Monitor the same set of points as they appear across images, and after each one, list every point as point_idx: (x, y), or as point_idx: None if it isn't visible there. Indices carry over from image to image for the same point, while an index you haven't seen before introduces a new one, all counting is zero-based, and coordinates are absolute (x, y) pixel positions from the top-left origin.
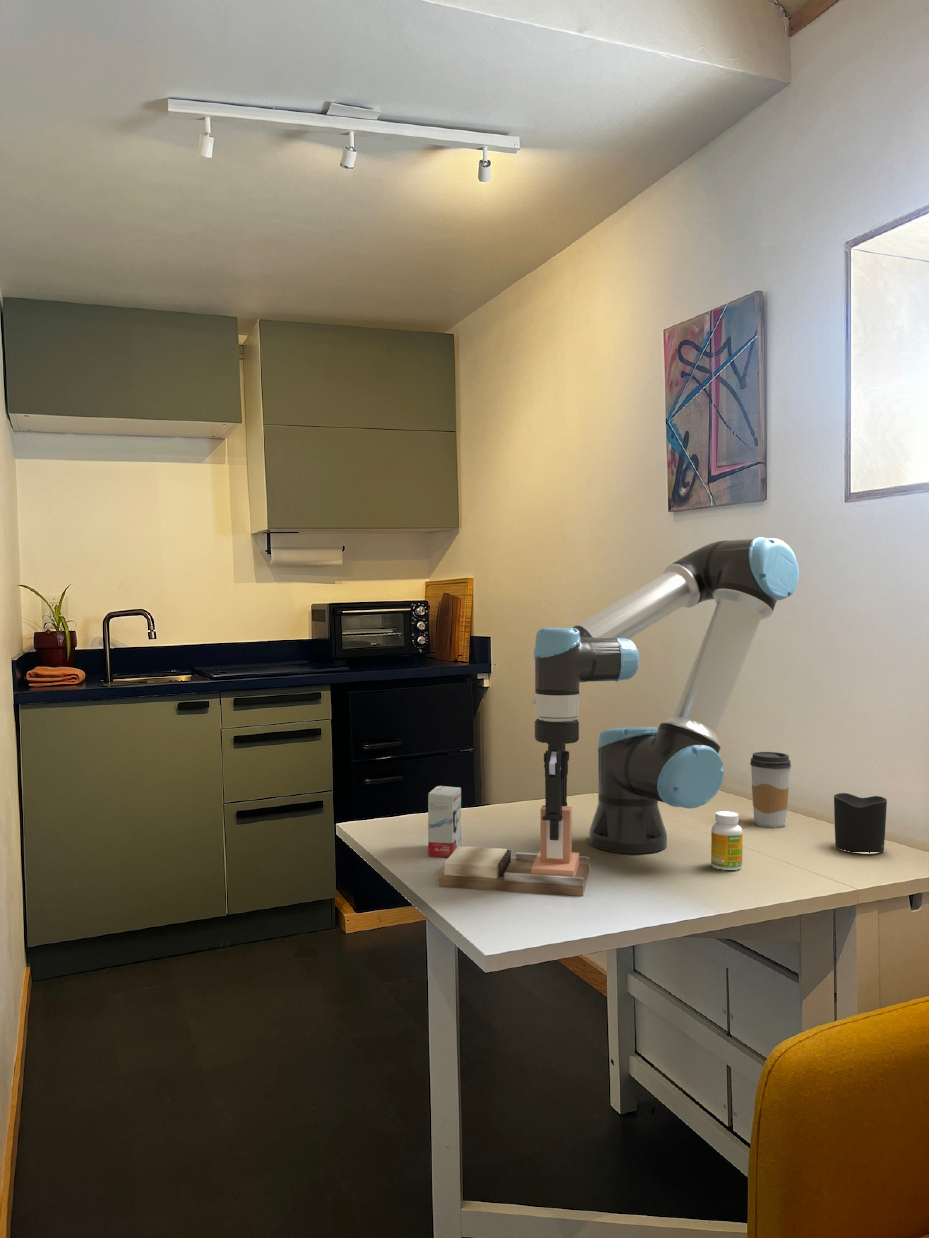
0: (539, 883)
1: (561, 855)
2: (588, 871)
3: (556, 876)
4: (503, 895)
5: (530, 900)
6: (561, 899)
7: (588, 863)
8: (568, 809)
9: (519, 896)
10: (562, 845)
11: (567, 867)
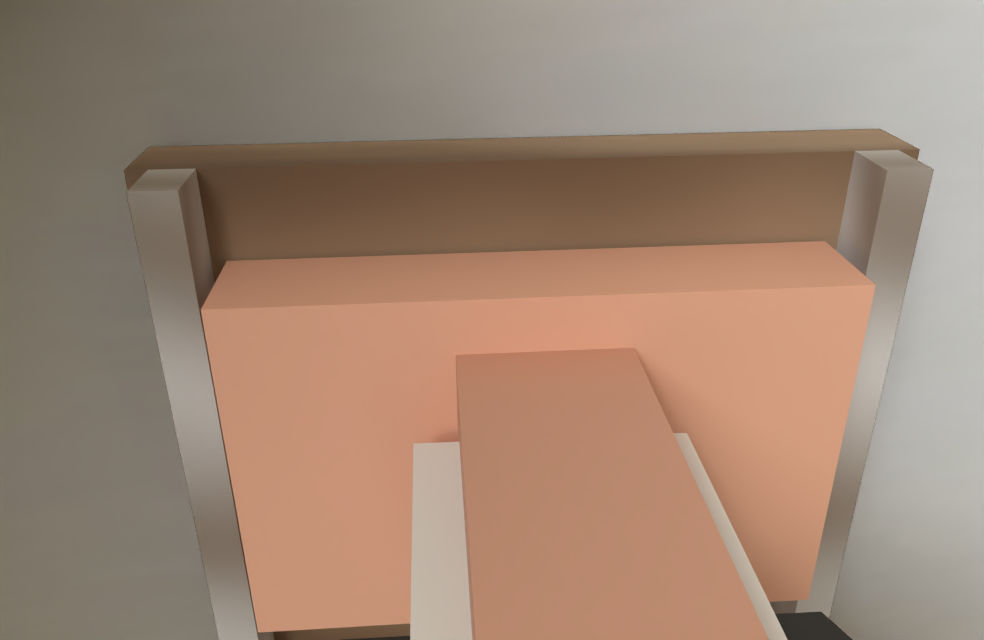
0: None
1: (694, 462)
2: (257, 151)
3: (864, 393)
4: (872, 601)
5: (970, 454)
6: (955, 274)
7: (195, 175)
8: None
9: (890, 523)
10: (731, 525)
11: (770, 348)
